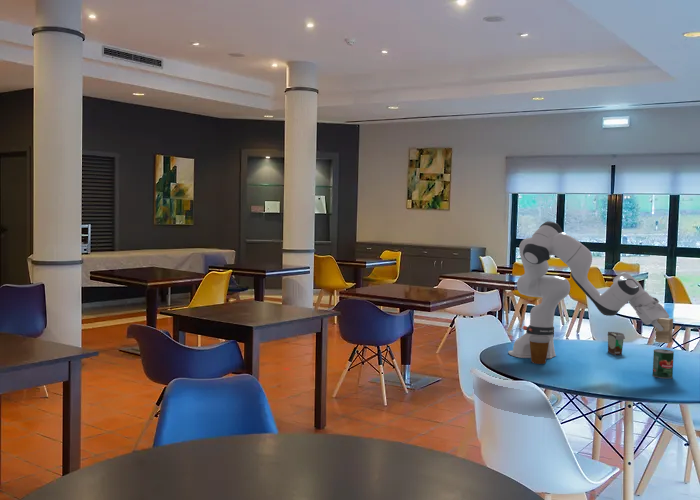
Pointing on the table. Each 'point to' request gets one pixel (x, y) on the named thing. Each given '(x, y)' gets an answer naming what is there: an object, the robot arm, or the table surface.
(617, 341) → the food container
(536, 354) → the disposable coffee cup
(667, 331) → the oak block
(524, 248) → the robot arm
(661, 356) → the canned tomato
